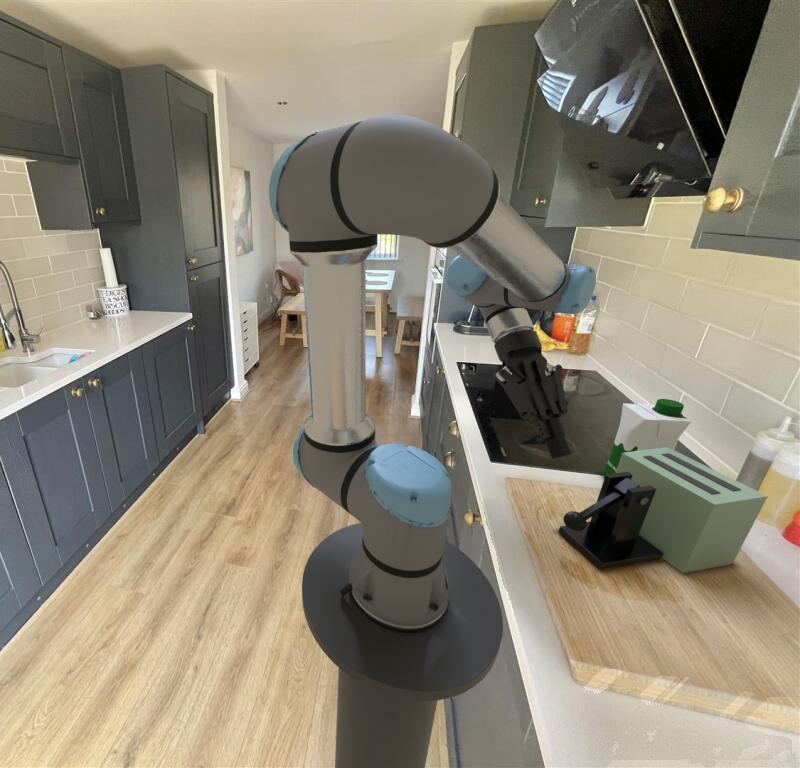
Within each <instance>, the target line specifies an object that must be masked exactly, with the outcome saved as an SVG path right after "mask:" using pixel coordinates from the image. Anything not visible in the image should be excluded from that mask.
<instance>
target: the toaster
mask: <svg viewBox="0 0 800 768" xmlns="http://www.w3.org/2000/svg"><path fill="white" fill-rule="evenodd" d="M621 472H629V473H631V474H632V478H631V480H632V481H633V482H635V483H636V484H638V485H640V487H643V486H650V485H651V486H652V487H654V488H656V492H655V494H654V497H653V499H652V502H651V504H650V507H649V510H648V512H647V515H646V517H645V520H644V522H643V525H642V527H641V530H640V532H639V536H641V537H642V538H643V539H645V540H646V541H648V542H649V543H650V544H652V545H653V546H654V547H656V548H657V549H658V550H660V551H661V552H663V553H664V554H663V556H662V558H661V559H663V560H665V561H666V562H667V563H668V564H670V565H671V566H672V567H674V568H675V569H676V570H677V571H679V572H680V573H681V574H685V573H690V572H697V571H702V570H707V569H712V568H718V567H722V566H723V567H724V566H728V565H729V566H730V565H733V564H734V562H735V560H736V557H737V556H738V554H739V552H740V550H741V548H742V546H743V544H744V543H745V541H746V539H747V537H748V535H749V533H750V531H751V529H752V528H753V525H754V524H755V522H756V520H757V518H758V516H759V514H760V512H761V510H762V509H763V506H764V505H765V503H766V501H767V499H768V497H769V496H768V495H766V494H764V493H763V492H760V491H758V490H756V489H754V488H752V487H750V486H748V485H745V484H744V483H742V482H740V481H738V480H736V479H733V478H732V477H730V476H727V475H726V474H723V473H721V472H719V471H717V470H715V469H713V468H711V467H709V466H707V465H705V464H703V463H701V462H699V461H697V460H695V459H693V458H691V457H688V456H686V455H685V454H682V453H680V452H679V451H676V450H675V449H674V450H673V449H670V448H668V447H664V448H656V449H648V450H640V451H633V452H625V453H622V455H621V458H620V461H619V464H618V467H617V470H616V473H621ZM619 512H620V511H619Z"/></svg>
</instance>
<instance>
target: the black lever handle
mask: <svg viewBox="0 0 800 768" xmlns="http://www.w3.org/2000/svg"><path fill="white" fill-rule="evenodd" d="M636 487H640V485H638V484H636V483H635V482H633V481H632V480H630V479H628V478H626V479H624V480H623V481H621V482H619V483H617V484H616V485H614V486H613V489H614V493H612V494H610V495H609V496H607V497H605V498H603V499H602V500H600V501H598V502H597V501H596V502H597V503H596V502H595V503H593V504H592V505H590V506H588V507H586V508H585V509H583V510H581V511H580V512H579V511H574V510H571V511H568V512H566V513H565V514H564V515H563V524H564V526H567V527H568V528H569V529H571V530H573V531H581V530H583V529H584V528H585V527H586V524H587V522H588V521H587V520H589V519H591V518H592V517H593V516H594V515H596V514H598V513H599V512H601V511H603V510H605V509H606V508H608V507H610V506H611V505H613V504H615V503H617V502H618V501H620V500H623V501H624V498H625V495H626V492H627V490H628V489H629V488H636Z"/></svg>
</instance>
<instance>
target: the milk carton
mask: <svg viewBox="0 0 800 768" xmlns="http://www.w3.org/2000/svg"><path fill="white" fill-rule="evenodd" d="M684 407H685V405H684V404H683V403H682V402H679V401H677V400H673V399H668V398H667V399H666V398H659V399H657V400H656V402H655V404H651V403H639V402H638V403H622V407H621V415H620V421H619V425H618V429H617V432H616V435H615V439H614V442H613V445H612V448H611V451H610V454H609V457H608V460H607V462H606V465H605V467H604V469H603V472H602V476H603V477H604V478H605V475H607V474H614V473H616V470H617V467H618V464H619V461H620V458H621V455H622V453H625V452H633V451H640V450H648V449H656V448H664V447H668V448H670V449H673V450H675V449H676V447H677V444H678V442H679V440H680V437H681V436H682V434H684V432H685V431H686V429H688V427H689V426H690V425H691V423H692V421H691V420H690V419H688V417H686V416H684V415H683V414H682V413H683V411H684Z"/></svg>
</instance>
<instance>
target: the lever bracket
mask: <svg viewBox="0 0 800 768" xmlns="http://www.w3.org/2000/svg"><path fill="white" fill-rule="evenodd" d="M626 478H628V479H630V480H631V478H632V474H631V473H629V472H621V473H614V474H607V475H605V477H604V479H603V482H602V485H601V487H600V491H599V493H598V497H597V500H596V502H595V503H597V502H598V501H600V500H602V499H603V498H605V497H607V496H609V495H610V494H612V493H614V489H613V486H614V485H616V484H617V483H619V482H621V481H623V480H624V479H626ZM655 492H656V488H654V487H652V486H651V485H650V486H643V487H636V488H629V489H628V490H627V492H626V495H625V498H624V501H623V500H620V501H618V502H617V503H615V504H613V505H611V506H610V507H608V508H606V509H605V510H603V511H601V512H599V513H598V514H596V515H594V516H593V517H591V518H590V521H586V522H587V524H586V527H585V528H584V529H583V530H581V531H573V530H571V529H569V528H568V527H567V526H566V525H560V526H559V528H558V534H560V535H561V536H562V537H563V538H564V539H565V540H567V541H568V543H570V544H571V545H572V546H573V547H574V548H575V549H576V550H578V551H579V552H580V553H581V554H582V555H583V556H584V557H585V558H587V559H588V560H589V561H590V562H591V563H592V564H593V565H594V566H595V567H597V569H599V570H600V571H603V570H607V569H615V568H619V567H627V566H631V565H637V564H643V563H649V562H655V561H658V560H659V561H660V560H662V559H663V558H662V556H663V554H664V553H663V552H661V551H660V550H658V549H657V548H656V547H654V546H653V545H652V544H650V543H649V542H648V541H646V540H645V539H643V538H642V537H641V536H639V532H640V530H641V527H642V525H643V522H644V520H645V517H646V515H647V512H648V510H649V507H650V504H651V502H652V499H653V497H654V494H655ZM619 511H620V512H619Z"/></svg>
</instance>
